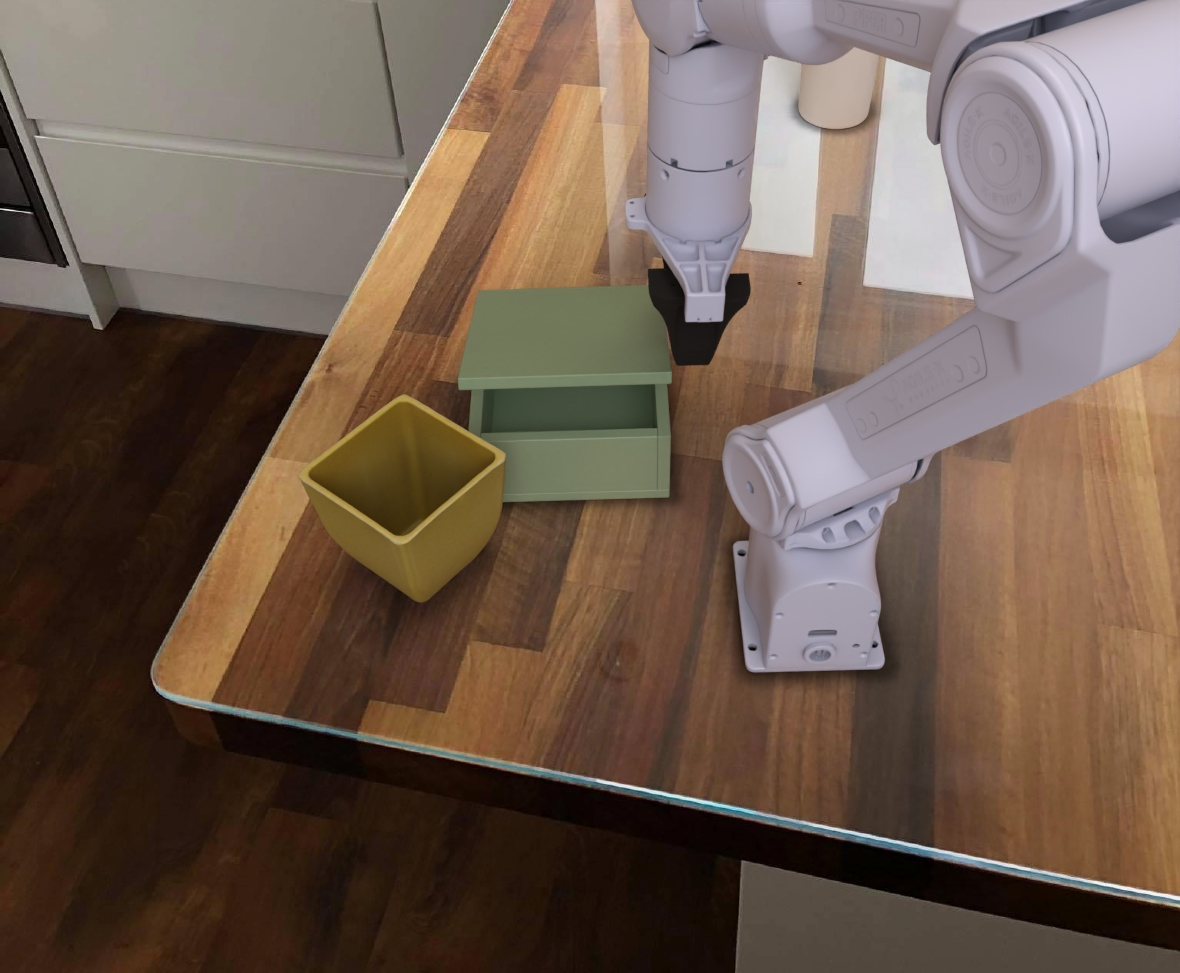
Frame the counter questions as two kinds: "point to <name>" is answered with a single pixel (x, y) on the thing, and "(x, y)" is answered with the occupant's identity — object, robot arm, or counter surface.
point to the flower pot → (409, 495)
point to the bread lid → (565, 339)
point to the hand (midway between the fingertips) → (689, 330)
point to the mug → (838, 90)
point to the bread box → (578, 440)
